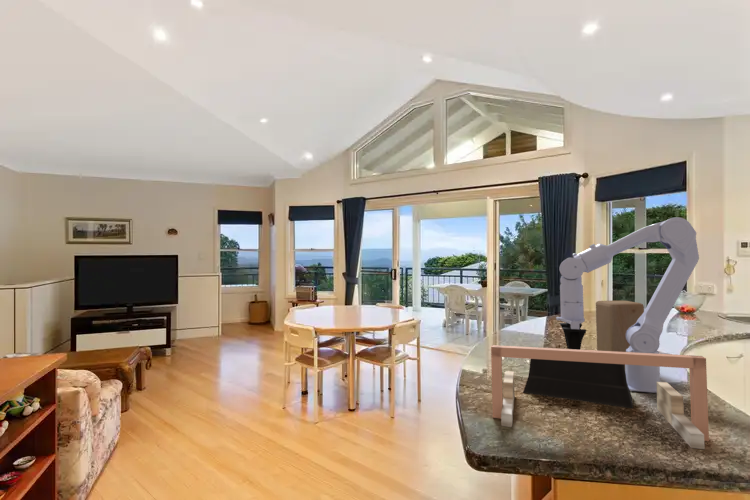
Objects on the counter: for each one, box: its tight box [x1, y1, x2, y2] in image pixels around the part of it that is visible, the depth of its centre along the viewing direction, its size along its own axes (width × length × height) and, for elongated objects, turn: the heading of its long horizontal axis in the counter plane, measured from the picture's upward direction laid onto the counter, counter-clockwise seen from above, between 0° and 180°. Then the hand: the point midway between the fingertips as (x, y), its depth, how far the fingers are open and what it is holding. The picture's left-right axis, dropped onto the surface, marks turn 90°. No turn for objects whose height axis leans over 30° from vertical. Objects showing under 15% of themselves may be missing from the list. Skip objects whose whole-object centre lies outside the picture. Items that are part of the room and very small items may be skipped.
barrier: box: [522, 359, 634, 409], centre depth 103 cm, size 24×9×10 cm, turn 59°
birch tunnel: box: [500, 370, 705, 450], centre depth 88 cm, size 20×34×6 cm, turn 70°
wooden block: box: [595, 300, 645, 367], centre depth 128 cm, size 10×10×20 cm
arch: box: [490, 344, 710, 442], centre depth 83 cm, size 2×38×15 cm, turn 70°
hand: (573, 351), depth 114 cm, fingers open, 7 cm apart
